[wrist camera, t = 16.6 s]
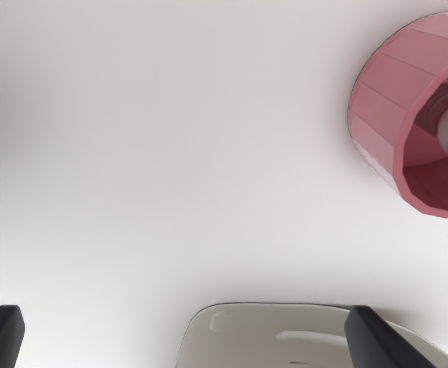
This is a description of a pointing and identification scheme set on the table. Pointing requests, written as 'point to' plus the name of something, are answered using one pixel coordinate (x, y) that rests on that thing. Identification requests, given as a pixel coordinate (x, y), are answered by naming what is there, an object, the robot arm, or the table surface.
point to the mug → (404, 113)
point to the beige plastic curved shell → (278, 338)
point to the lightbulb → (436, 116)
